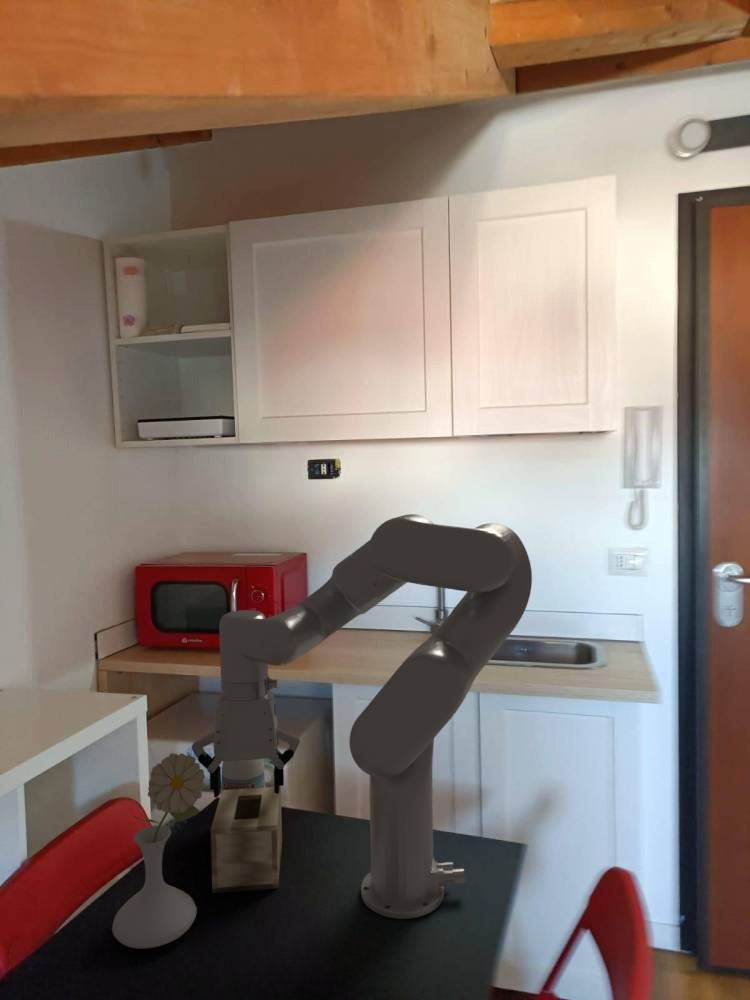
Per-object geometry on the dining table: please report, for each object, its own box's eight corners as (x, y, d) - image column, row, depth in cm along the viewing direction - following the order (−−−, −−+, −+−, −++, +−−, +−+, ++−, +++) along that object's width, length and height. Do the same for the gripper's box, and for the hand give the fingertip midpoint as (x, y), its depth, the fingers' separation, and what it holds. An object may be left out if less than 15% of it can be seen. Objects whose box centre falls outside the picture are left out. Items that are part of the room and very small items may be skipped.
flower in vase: (108, 966, 89) (101, 779, 88) (116, 912, 100) (111, 745, 99) (210, 946, 93) (205, 766, 92) (207, 896, 104) (203, 735, 103)
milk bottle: (223, 820, 126) (220, 714, 126) (265, 816, 128) (263, 711, 127) (222, 842, 119) (218, 730, 118) (266, 837, 120) (264, 726, 119)
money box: (282, 843, 118) (280, 786, 118) (278, 888, 106) (276, 825, 105) (223, 846, 118) (222, 790, 117) (212, 892, 105) (210, 829, 104)
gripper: (299, 678, 115) (301, 778, 116) (194, 683, 113) (197, 784, 114) (297, 693, 107) (300, 799, 108) (186, 698, 106) (189, 806, 107)
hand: (247, 791), depth 111 cm, fingers open, 9 cm apart
